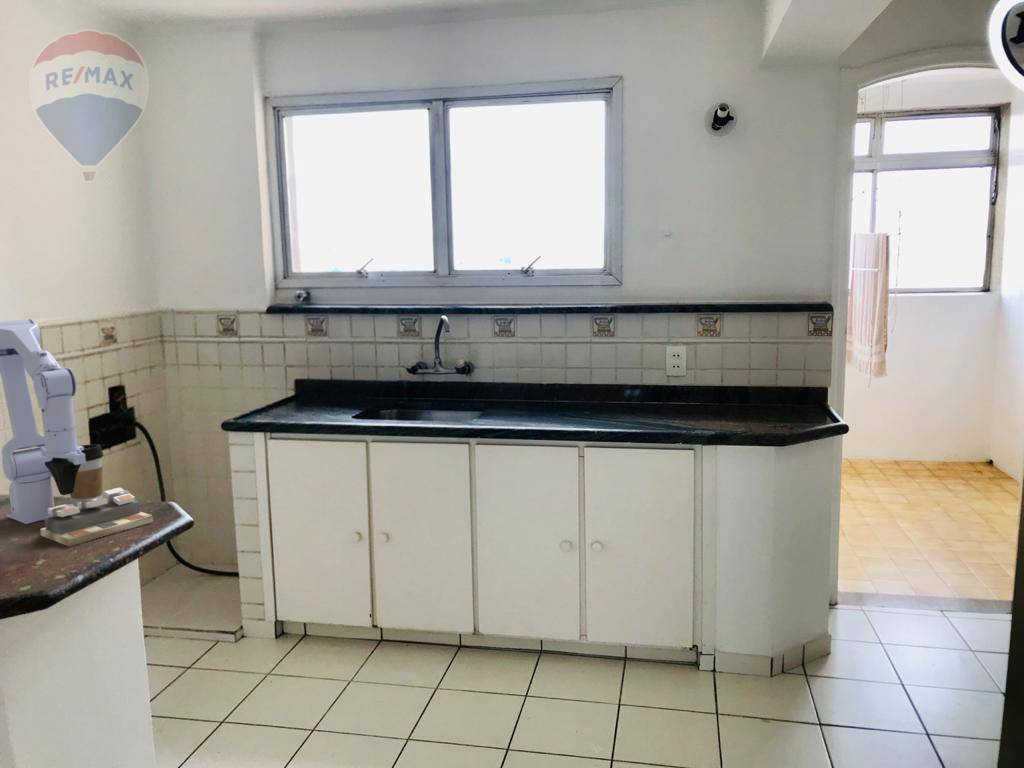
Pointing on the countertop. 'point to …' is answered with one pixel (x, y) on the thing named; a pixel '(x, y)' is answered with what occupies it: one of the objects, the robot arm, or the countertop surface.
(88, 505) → the rocker middle
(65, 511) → the rocker end near
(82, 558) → the countertop surface
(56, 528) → the switch unit
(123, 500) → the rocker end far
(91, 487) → the coffee cup
